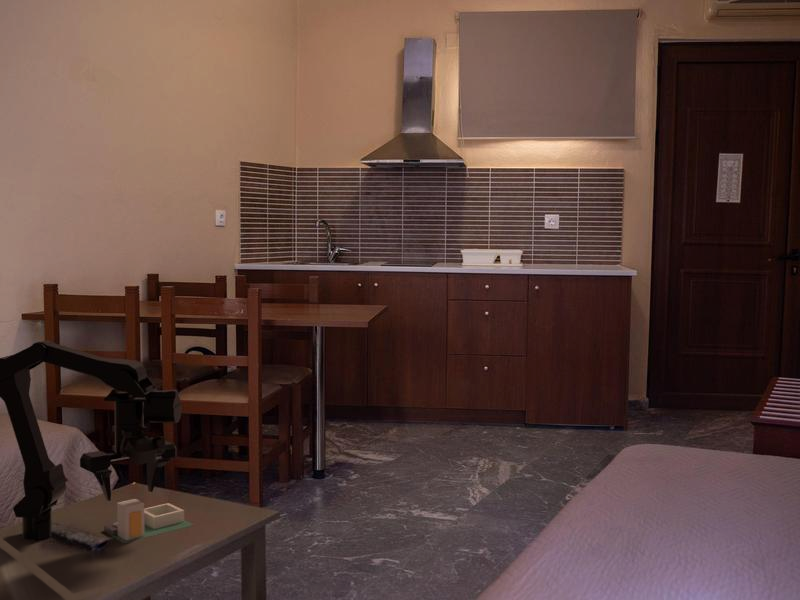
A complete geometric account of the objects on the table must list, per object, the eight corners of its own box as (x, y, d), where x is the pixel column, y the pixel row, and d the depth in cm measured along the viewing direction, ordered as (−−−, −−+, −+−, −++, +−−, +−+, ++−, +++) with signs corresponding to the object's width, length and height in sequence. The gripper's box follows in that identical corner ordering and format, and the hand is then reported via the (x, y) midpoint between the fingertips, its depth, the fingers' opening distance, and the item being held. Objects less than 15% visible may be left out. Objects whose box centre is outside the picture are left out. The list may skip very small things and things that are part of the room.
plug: (117, 535, 168) (117, 502, 167) (135, 530, 171) (135, 498, 170) (126, 540, 165) (126, 507, 164) (145, 536, 168) (144, 503, 167)
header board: (101, 534, 171) (101, 518, 171) (170, 517, 182) (170, 502, 182) (123, 547, 164) (123, 530, 163) (194, 529, 175) (193, 513, 175)
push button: (104, 530, 171) (103, 523, 171) (124, 525, 174) (124, 518, 174) (113, 536, 167) (113, 528, 167) (134, 530, 171) (134, 523, 171)
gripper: (102, 435, 154) (102, 515, 155) (189, 422, 167) (189, 495, 168) (78, 426, 162) (79, 501, 163) (163, 413, 175) (164, 484, 176)
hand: (129, 496), depth 167 cm, fingers open, 9 cm apart
